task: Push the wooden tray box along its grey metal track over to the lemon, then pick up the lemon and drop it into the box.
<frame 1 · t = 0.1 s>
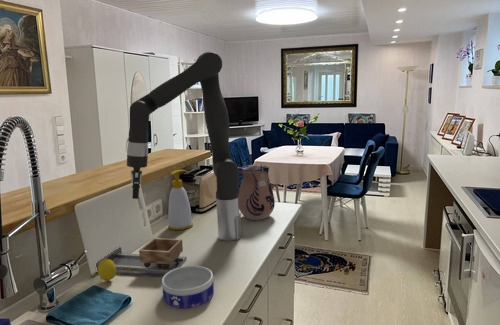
hand: (135, 195, 143), 22 cm above the kitchen counter, tool pointing down, fingers open, 8 cm apart
ceramic pitcher: (253, 217, 180), on the kitchen counter
dog bowl: (189, 295, 113), on the kitchen counter
soap bottle: (181, 226, 172), on the kitchen counter
wooden tray box: (162, 253, 131), point 5 cm above the kitchen counter, slide at 0.0 cm
track: (142, 265, 134), on the kitchen counter
lemon: (108, 281, 123), on the kitchen counter
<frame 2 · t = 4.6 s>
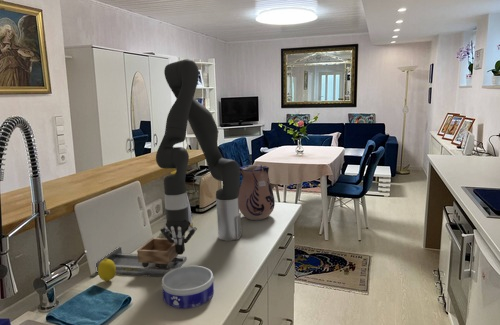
hand: (180, 253, 129), 6 cm above the kitchen counter, tool pointing down, fingers closed
wooden tray box: (160, 253, 131), point 5 cm above the kitchen counter, slide at 0.7 cm, touching gripper
everything else where it was.
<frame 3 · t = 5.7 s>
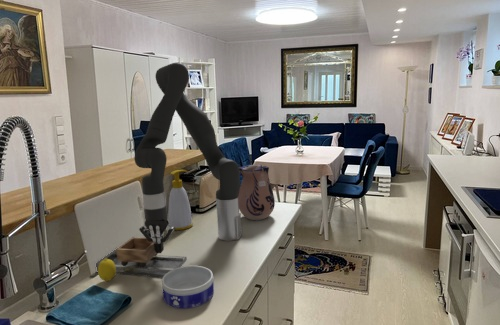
hand: (159, 252, 131), 6 cm above the kitchen counter, tool pointing down, fingers closed
wooden tray box: (139, 252, 133), point 5 cm above the kitchen counter, slide at 8.6 cm, touching gripper
everything else where it was.
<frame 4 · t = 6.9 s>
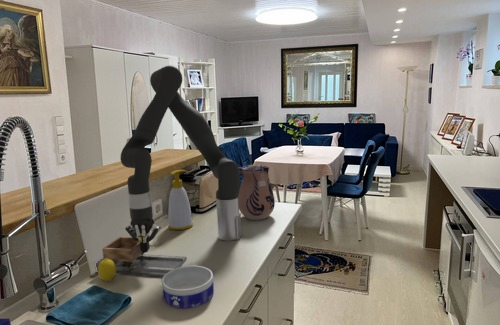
hand: (145, 251, 132), 6 cm above the kitchen counter, tool pointing down, fingers closed
wooden tray box: (126, 251, 134), point 5 cm above the kitchen counter, slide at 14.0 cm, touching gripper
everything else where it was.
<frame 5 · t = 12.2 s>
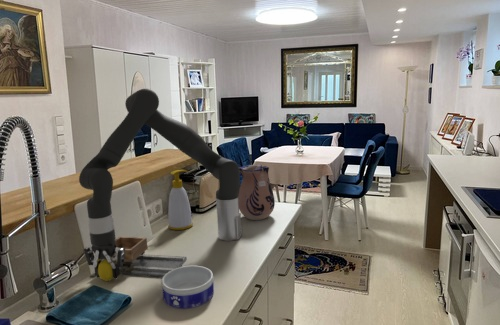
hand: (107, 277, 123), 2 cm above the kitchen counter, tool pointing down, fingers closed on lemon, 5 cm apart
wooden tray box: (126, 251, 134), point 5 cm above the kitchen counter, slide at 14.0 cm
lemon: (108, 281, 123), on the kitchen counter, touching gripper
everything else where it was.
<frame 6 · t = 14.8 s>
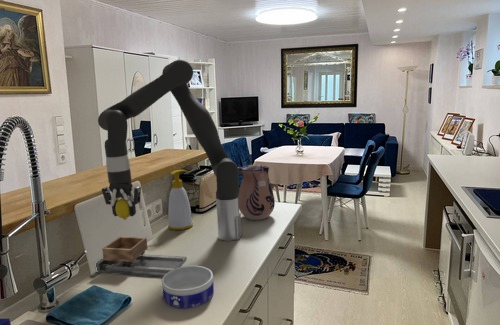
hand: (124, 215, 131), 19 cm above the kitchen counter, tool pointing down, fingers closed on lemon, 5 cm apart
lemon: (125, 220, 131), point 17 cm above the kitchen counter, touching gripper
everything else where it was.
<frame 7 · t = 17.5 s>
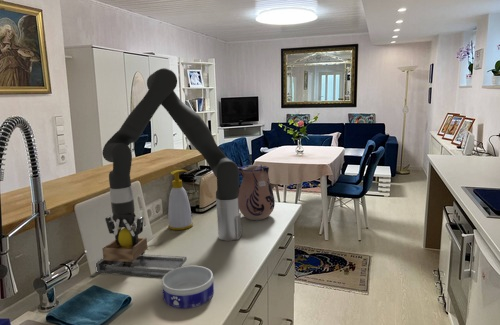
hand: (127, 244, 133), 8 cm above the kitchen counter, tool pointing down, fingers closed on lemon, 5 cm apart
wooden tray box: (126, 251, 134), point 5 cm above the kitchen counter, slide at 14.0 cm, touching gripper
lemon: (127, 249, 134), point 6 cm above the kitchen counter, touching gripper
everything else where it was.
when the fingers open (8 cm above the kitchen counter, at t = 17.5 s): lemon drops 1 cm, resting on wooden tray box.
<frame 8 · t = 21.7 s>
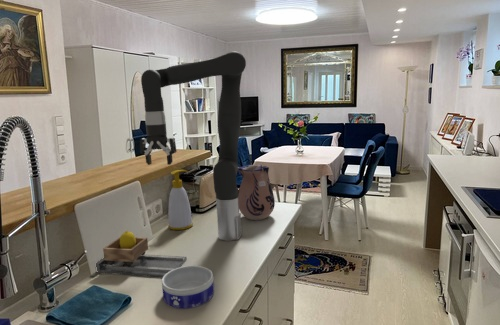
hand: (159, 164, 147), 33 cm above the kitchen counter, tool pointing down, fingers open, 8 cm apart
wooden tray box: (126, 251, 134), point 5 cm above the kitchen counter, slide at 13.7 cm, touching lemon
lemon: (129, 252, 134), point 5 cm above the kitchen counter, touching wooden tray box
everything else where it was.
at the end: wooden tray box slide at 13.7 cm; lemon 0.8 cm off-centre on the wooden tray box, point 4.7 cm above the wooden tray box's base; the gripper is holding nothing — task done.
